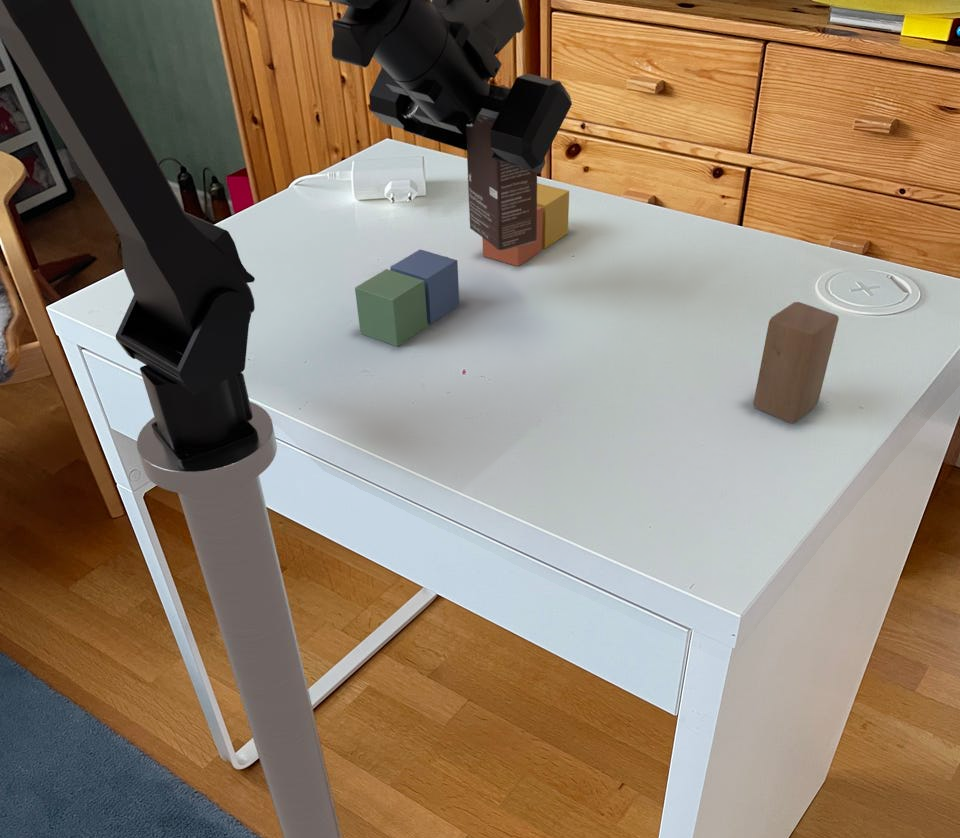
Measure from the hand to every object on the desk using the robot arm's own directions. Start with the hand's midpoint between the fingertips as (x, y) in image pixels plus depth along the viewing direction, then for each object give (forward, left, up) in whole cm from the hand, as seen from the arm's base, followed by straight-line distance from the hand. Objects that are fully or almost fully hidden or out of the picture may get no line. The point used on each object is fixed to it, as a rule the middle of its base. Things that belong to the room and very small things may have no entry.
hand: (512, 158), depth 88 cm
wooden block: (+5, -31, -12) cm, 34 cm away
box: (-1, 0, -7) cm, 7 cm away
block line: (-2, +4, -12) cm, 13 cm away
